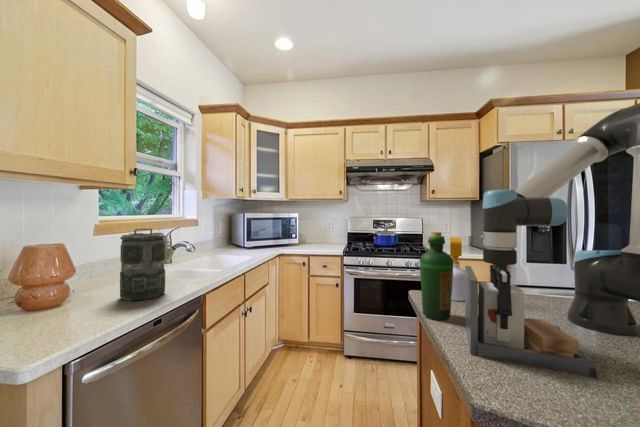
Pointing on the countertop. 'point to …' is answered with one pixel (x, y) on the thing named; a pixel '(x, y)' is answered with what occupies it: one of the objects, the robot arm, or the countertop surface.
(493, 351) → the stand
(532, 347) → the offcut lower
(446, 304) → the bottle
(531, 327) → the offcut upper
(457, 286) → the soap bottle
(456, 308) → the countertop surface
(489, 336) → the supplement box
